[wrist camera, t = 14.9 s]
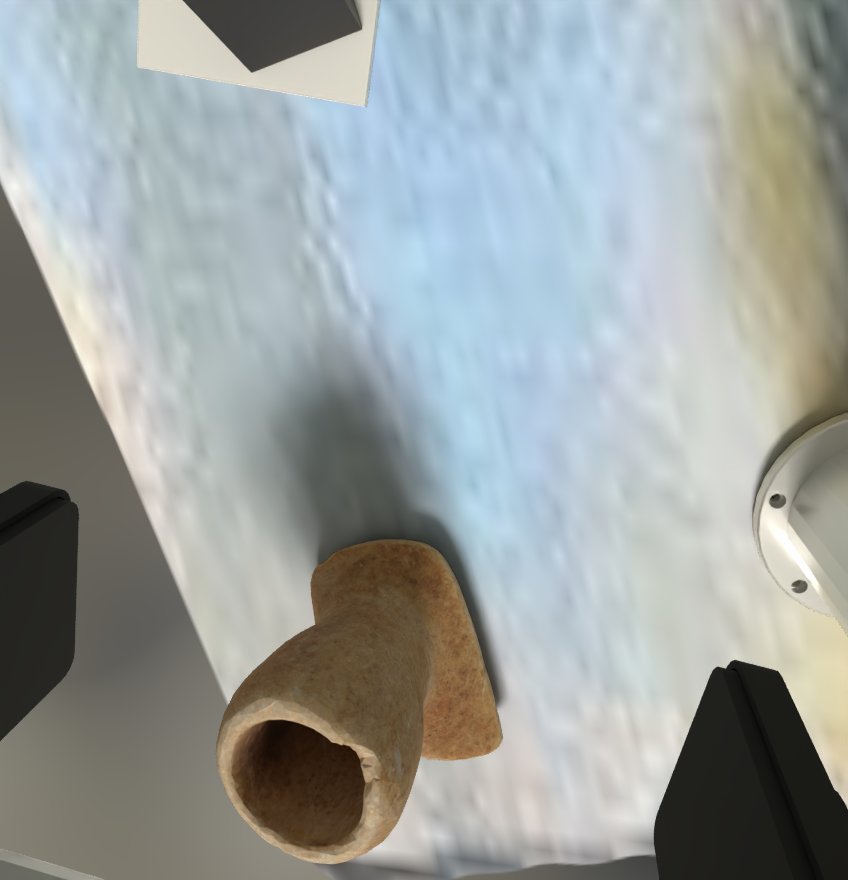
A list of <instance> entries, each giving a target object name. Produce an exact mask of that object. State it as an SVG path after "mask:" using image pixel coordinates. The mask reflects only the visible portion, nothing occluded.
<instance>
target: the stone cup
mask: <svg viewBox="0 0 848 880" xmlns="http://www.w3.org/2000/svg"><path fill="white" fill-rule="evenodd" d="M311 597H312V604H313V611H314V618H315V625H313V626H312V627H310V628H308V629H306V630H304V631H302V632H300V633H299V634H297V635H296V636H294V637H293V638H291V639H290V640H288V641H286V642H285V643H284V644H283V645H282V646H280V647H279V648H278V649H277V650H276V651H275V652H273V653H272V654H271V655H270V656H269V657H268V658H267V659H266V660H265V661H264V662H263V663H261V664H260V665H259V666H258V667H257V668H256V669H255V670H253V671H252V673H251V674H250V675H249V676H248V677H247V678H246V679H245V680H244V681H243V682H242V684H241V685H240V687H239V688H238V689H237V691H236V692H235V693H234V695H233V697H232V699H231V701H230V703H229V705H228V707H227V709H226V711H225V713H224V716H223V720H222V723H221V726H220V730H219V734H218V739H217V746H216V759H217V766H218V772H219V774H220V776H221V778H222V781H223V785H224V788H225V790H226V792H227V794H228V796H229V798H230V800H231V801H232V803H233V804H234V806H235V808H236V809H237V811H238V812H239V814H240V815H241V816H242V817H243V819H244V820H245V821H246V822H247V823H248V824H249V825H250V826H251V827H252V828H253V829H254V830H255V831H256V832H257V833H258V834H259V835H260V836H261V837H262V838H263V839H265V840H266V841H267V842H269V843H270V844H272V845H274V846H277V847H279V848H281V850H282V851H283V852H286V853H289V854H291V855H293V856H295V857H297V858H300V859H302V860H305V861H309V862H313V863H326V864H337V863H341V862H346V861H348V860H351V859H353V858H355V857H358V856H360V855H363V854H365V853H367V852H368V851H370V850H371V849H373V848H374V847H376V846H377V845H379V844H380V843H382V842H383V841H384V840H385V839H386V837H387V836H388V835H389V834H390V832H391V831H392V830H393V828H394V827H395V825H396V824H397V822H398V821H399V818H400V816H401V814H402V812H403V809H404V807H405V804H406V802H407V799H408V797H409V794H410V791H411V788H412V785H413V782H414V778H415V775H416V772H417V768H418V765H419V761H420V757H423V758H426V759H430V760H443V761H447V760H458V759H468V758H473V757H478V756H482V755H486V754H489V753H491V752H493V751H494V750H495V749H497V748H498V747H499V745H500V744H501V743H502V739H503V735H502V729H501V724H500V720H499V715H498V712H497V709H496V702H495V698H494V694H493V690H492V687H491V683H490V680H489V677H488V674H487V671H486V667H485V664H484V660H483V656H482V653H481V649H480V645H479V642H478V638H477V635H476V632H475V629H474V625H473V622H472V619H471V617H470V614H469V611H468V609H467V606H466V603H465V600H464V597H463V595H462V592H461V589H460V587H459V584H458V582H457V580H456V577H455V575H454V573H453V572H452V570H451V568H450V566H449V565H448V563H447V561H446V560H445V559H444V557H443V556H442V554H441V553H440V552H439V551H438V550H436V549H435V548H433V547H432V546H430V545H428V544H426V543H422V542H418V541H413V540H402V539H383V540H374V541H369V542H365V543H361V544H356V545H353V546H350V547H346V548H343V549H341V550H339V551H337V552H335V553H333V554H332V555H331V556H330V557H329V558H328V559H327V560H326V561H325V562H324V563H321V564H319V565H318V566H317V567H316V568H315V570H314V572H313V574H312V579H311Z"/></svg>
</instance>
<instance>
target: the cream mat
mask: <svg viewBox="0 0 848 880" xmlns="http://www.w3.org/2000/svg"><path fill="white" fill-rule="evenodd" d="M354 1H355V5H356V8H357V11H358V15H359V18H360V21H361V25H362V30H360V31H358V32H355V33H352V34H350V35H347V36H345V37H342V38H340V39H337V40H335V41H332V42H330V43H327V44H324V45H322V46H319V47H317V48H314V49H312V50H309V51H307V52H304V53H301V54H299V55H296V56H294V57H291V58H289V59H286V60H284V61H281V62H279V63H276V64H273V65H271V66H268V67H266V68H263V69H261V70H258V71H256V72H253V73H251V72H250V71H249V70H248V69H247V68H246V67H245V66H244V65H243V64H242V63H241V61H240V60H239V59H238V58H237V57H236V56H235V55H234V54H233V53H232V52H231V51H230V50H229V49H228V48H227V47H226V46H225V45H224V44H223V43H222V41H221V40H220V39H219V38H218V37H217V36H216V35H215V34H214V33H213V32H212V31H211V30H210V29H209V28H208V27H207V26H206V25H205V24H204V22H203V21H202V20H201V19H200V18H199V17H198V16H197V15H196V14H195V13H194V12H193V11H192V10H191V9H190V8H189V7H188V6H187V5H186V4H185V2H184V1H183V0H139V13H138V50H137V67H139V68H143V69H149V70H155V71H161V72H166V73H172V74H178V75H184V76H190V77H195V78H201V79H207V80H213V81H218V82H224V83H230V84H236V85H242V86H247V87H253V88H259V89H265V90H270V91H276V92H282V93H288V94H294V95H299V96H305V97H311V98H317V99H323V100H328V101H334V102H340V103H346V104H351V105H357V106H363V107H367V103H368V95H369V87H370V80H371V72H372V64H373V56H374V48H375V40H376V32H377V24H378V17H379V9H380V1H381V0H354Z"/></svg>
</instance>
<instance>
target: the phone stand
mask: <svg viewBox="0 0 848 880" xmlns="http://www.w3.org/2000/svg"><path fill="white" fill-rule="evenodd" d="M183 1H184V2H185V4H186V5H187V6H188V7H189V8H190V9H191V10H192V11H193V12H194V13H195V14H196V15H197V16H198V17H199V18H200V19H201V20H202V21H203V22H204V24H205V25H206V26H207V27H208V28H209V29H210V30H211V31H212V32H213V33H214V34H215V35H216V36H217V37H218V38H219V39H220V40H221V41H222V43H223V44H224V45H225V46H226V47H227V48H228V49H229V50H230V51H231V52H232V53H233V54H234V55H235V56H236V57H237V58H238V59H239V60H240V61H241V63H242V64H243V65H244V66H245V67H246V68H247V69H248V70H249V71H250V72H251V73H253V72H256V71H258V70H261V69H263V68H266V67H268V66H271V65H273V64H276V63H279V62H281V61H284V60H286V59H289V58H291V57H294V56H296V55H299V54H301V53H304V52H307V51H309V50H312V49H314V48H317V47H319V46H322V45H324V44H327V43H330V42H332V41H335V40H337V39H340V38H342V37H345V36H347V35H350V34H352V33H355V32H358V31H360V30H362V25H361V21H360V18H359V15H358V11H357V8H356V5H355V1H354V0H183Z"/></svg>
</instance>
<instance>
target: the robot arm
mask: <svg viewBox="0 0 848 880" xmlns="http://www.w3.org/2000/svg"><path fill="white" fill-rule="evenodd" d="M775 494H777V496H776V497H775V498H771V496H773V495H775ZM78 520H79V514H78V507H77V505H76V504H75V503H73V502H71V501H70V497H69V494H68V493H67V492H66V491H64V490H62V489H58V488H54V487H50V486H46V485H42V484H38V483H34V482H29V481H25V482H22V483H19V484H18V485H16V486H14V487H12V488H10V489H9V490H7V491H5V492H3V493H1V494H0V741H1V740H2V739H3V738H4V737H5V736H6V735H7V734H8V733H9V732H10V731H11V730H12V729H13V728H14V727H15V726H16V725H17V724H18V723H19V722H20V721H21V720H22V719H23V718H24V717H25V716H26V715H27V714H28V713H29V712H30V711H31V710H32V709H33V708H34V707H35V706H36V705H37V704H38V703H39V702H40V701H41V700H42V699H43V698H44V697H45V696H46V695H47V694H48V693H49V692H50V691H51V690H52V689H53V688H54V687H55V686H56V685H57V684H58V683H59V682H60V681H61V680H62V679H63V678H64V677H65V676H66V674H67V672H68V671H69V669H70V667H71V664H72V662H73V658H74V651H75V620H76V586H77V585H76V584H77V552H78V551H77V550H78ZM753 529H754V538H755V542H756V546H757V549H758V553H759V555H760V557H761V559H762V561H763V563H764V565H765V567H766V569H767V570H768V572H769V573H770V574H771V576H772V577H773V579H774V580H775V582H776V583H777V585H778V586H779V587H780V588H781V589H782V590H783V591H784V592H785V593H786V594H787V595H789V596H790V597H791V598H792V599H794V600H796V601H797V602H799V603H800V604H802V605H804V606H805V607H807V608H808V609H811V610H813V611H816V612H818V613H821V614H823V615H826V616H828V617H833V618H835V619H836V620H837V622H838V623H839V625H840V626H841V628H842V629H843V631H844V632H845V633H846V635H847V636H848V412H847V413H844V414H841V415H838V416H835V417H833V418H831V419H829V420H827V421H825V422H823V423H821V424H819V425H817V426H815V427H813V428H811V429H810V430H809V431H807V432H806V433H805V434H803V435H802V436H801V437H799V438H798V439H796V440H795V441H794V442H792V444H791V445H790V446H789V447H788V448H787V449H786V450H785V451H784V452H783V453H782V454H781V455H780V456H779V457H778V458H777V459H776V461H775V462H774V464H773V465H772V467H771V468H770V470H769V471H768V473H767V474H766V476H765V478H764V480H763V482H762V485H761V487H760V490H759V492H758V494H757V497H756V503H755V508H754V514H753ZM796 580H797V581H796ZM794 581H795V582H794ZM654 846H655V853H656V859H657V866H658V873H659V880H848V809H847V807H846V805H845V803H844V801H843V799H842V798H841V796H840V795H839V793H838V792H837V791H835V790H834V788H833V786H832V784H831V781H830V779H829V777H828V775H827V773H826V771H825V768H824V766H823V764H822V762H821V760H820V758H819V756H818V753H817V751H816V749H815V747H814V745H813V743H812V740H811V738H810V736H809V734H808V732H807V730H806V727H805V725H804V723H803V721H802V719H801V717H800V715H799V712H798V710H797V708H796V706H795V704H794V702H793V699H792V697H791V695H790V693H789V691H788V689H787V687H786V684H785V682H784V680H783V678H782V676H781V675H780V673H779V672H778V671H776V670H773V669H769V668H765V667H761V666H757V665H753V664H749V663H745V662H741V661H737V660H734V661H731V662H730V664H729V665H728V666H727V668H726V669H725V668H721V667H716V668H715V669H714V670H713V671H712V673H711V675H710V678H709V680H708V683H707V685H706V688H705V691H704V693H703V696H702V698H701V701H700V704H699V706H698V709H697V711H696V714H695V717H694V719H693V722H692V724H691V727H690V730H689V732H688V735H687V737H686V740H685V743H684V745H683V748H682V750H681V753H680V756H679V758H678V761H677V763H676V766H675V769H674V771H673V774H672V776H671V779H670V782H669V784H668V787H667V789H666V792H665V795H664V797H663V800H662V802H661V805H660V808H659V810H658V813H657V816H656V820H655V826H654ZM0 880H104V879H101V878H98V877H94V876H91V875H88V874H84V873H81V872H78V871H75V870H71V869H68V868H65V867H61V866H58V865H55V864H51V863H48V862H44V861H41V860H38V859H34V858H31V857H28V856H24V855H20V854H18V853H14V852H11V851H7V850H4V849H1V848H0Z"/></svg>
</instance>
